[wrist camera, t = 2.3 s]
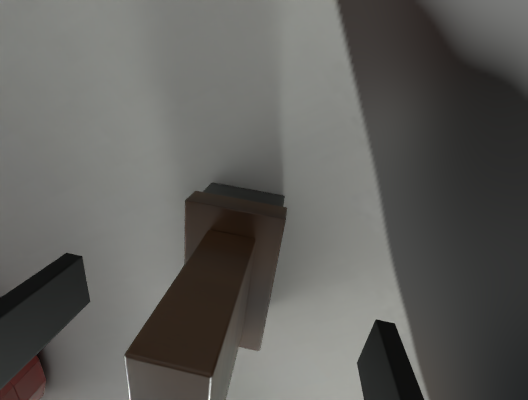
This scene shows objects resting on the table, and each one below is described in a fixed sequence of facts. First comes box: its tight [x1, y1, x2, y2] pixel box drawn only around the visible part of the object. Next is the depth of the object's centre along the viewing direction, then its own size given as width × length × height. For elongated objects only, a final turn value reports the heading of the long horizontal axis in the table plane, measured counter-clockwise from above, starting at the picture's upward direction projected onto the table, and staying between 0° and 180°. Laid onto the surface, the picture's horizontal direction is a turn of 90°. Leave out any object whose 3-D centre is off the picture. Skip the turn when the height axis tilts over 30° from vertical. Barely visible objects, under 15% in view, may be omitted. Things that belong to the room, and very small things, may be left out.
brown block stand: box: [124, 183, 287, 400], centre depth 11 cm, size 8×4×9 cm, turn 172°
